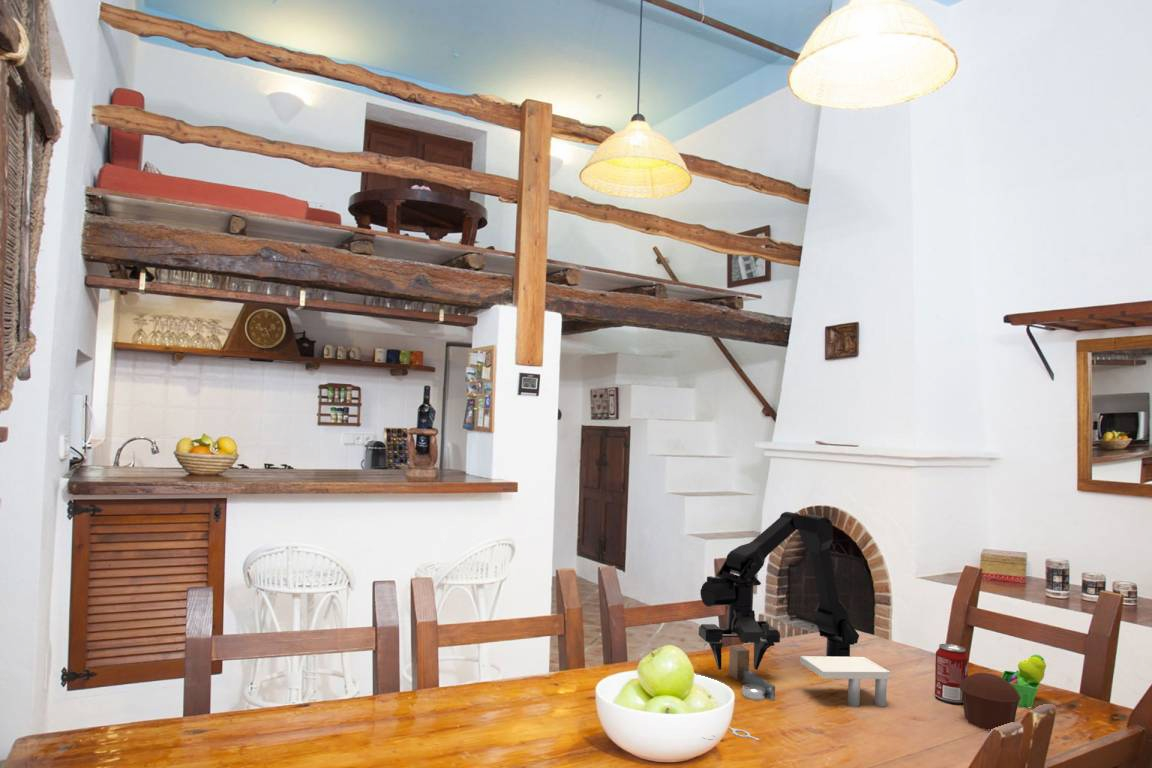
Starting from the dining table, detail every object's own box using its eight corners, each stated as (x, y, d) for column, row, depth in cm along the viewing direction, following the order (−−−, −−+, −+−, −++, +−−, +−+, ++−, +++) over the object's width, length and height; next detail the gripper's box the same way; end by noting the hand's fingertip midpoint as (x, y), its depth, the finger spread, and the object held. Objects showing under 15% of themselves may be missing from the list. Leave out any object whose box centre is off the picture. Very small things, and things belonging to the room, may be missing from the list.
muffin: (1028, 727, 162) (1029, 679, 162) (1008, 739, 155) (1010, 688, 155) (969, 709, 171) (971, 664, 171) (948, 719, 163) (950, 672, 164)
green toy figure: (1003, 690, 186) (1004, 643, 186) (1046, 700, 181) (1047, 651, 181) (998, 703, 176) (1000, 653, 177) (1043, 713, 171) (1044, 662, 172)
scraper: (728, 675, 185) (730, 645, 185) (739, 674, 186) (741, 645, 186) (766, 700, 169) (768, 668, 169) (778, 699, 170) (780, 667, 170)
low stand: (799, 688, 178) (800, 656, 178) (862, 689, 180) (863, 656, 181) (822, 706, 167) (823, 671, 167) (889, 706, 169) (890, 672, 170)
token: (747, 701, 168) (748, 692, 168) (738, 693, 173) (738, 684, 173) (768, 701, 169) (769, 691, 169) (758, 693, 174) (759, 684, 174)
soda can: (963, 707, 172) (965, 653, 172) (931, 699, 176) (933, 646, 176) (969, 700, 177) (971, 647, 178) (937, 692, 181) (939, 641, 182)
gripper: (715, 611, 175) (712, 680, 174) (791, 612, 178) (788, 681, 177) (699, 600, 186) (696, 665, 185) (771, 601, 189) (768, 665, 188)
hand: (737, 669), depth 184 cm, fingers open, 9 cm apart
